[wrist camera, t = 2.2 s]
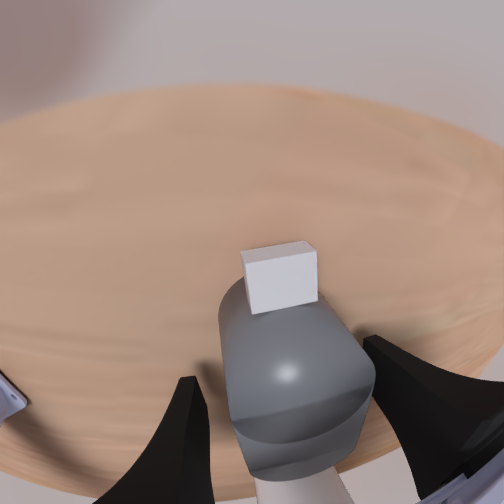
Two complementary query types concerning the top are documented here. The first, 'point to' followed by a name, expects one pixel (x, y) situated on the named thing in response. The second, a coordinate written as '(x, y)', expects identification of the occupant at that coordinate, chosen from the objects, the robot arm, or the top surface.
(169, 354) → the top surface
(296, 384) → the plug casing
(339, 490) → the drinking glass
